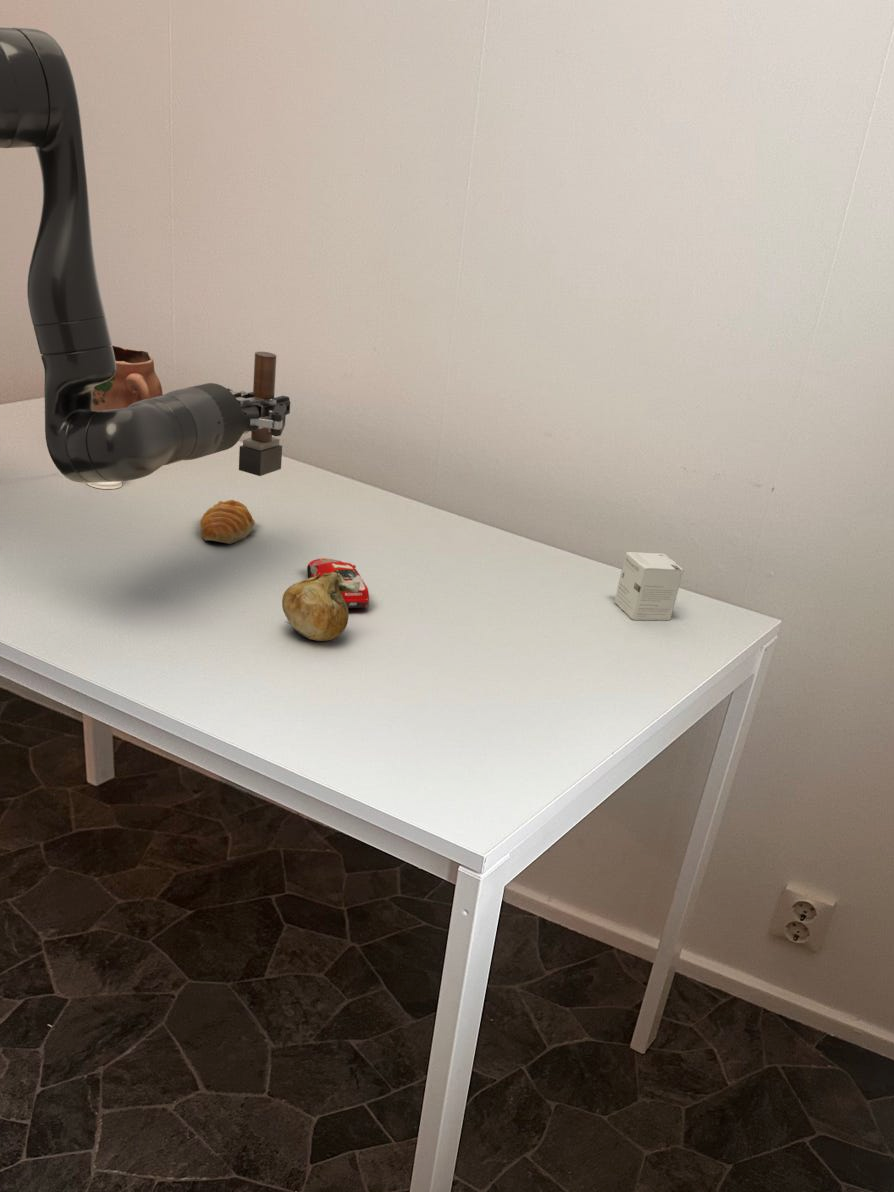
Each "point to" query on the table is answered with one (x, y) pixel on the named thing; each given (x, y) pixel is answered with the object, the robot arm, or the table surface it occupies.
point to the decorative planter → (128, 381)
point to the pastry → (227, 522)
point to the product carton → (648, 586)
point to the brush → (262, 448)
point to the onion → (318, 606)
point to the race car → (347, 574)
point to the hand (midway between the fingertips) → (275, 401)
